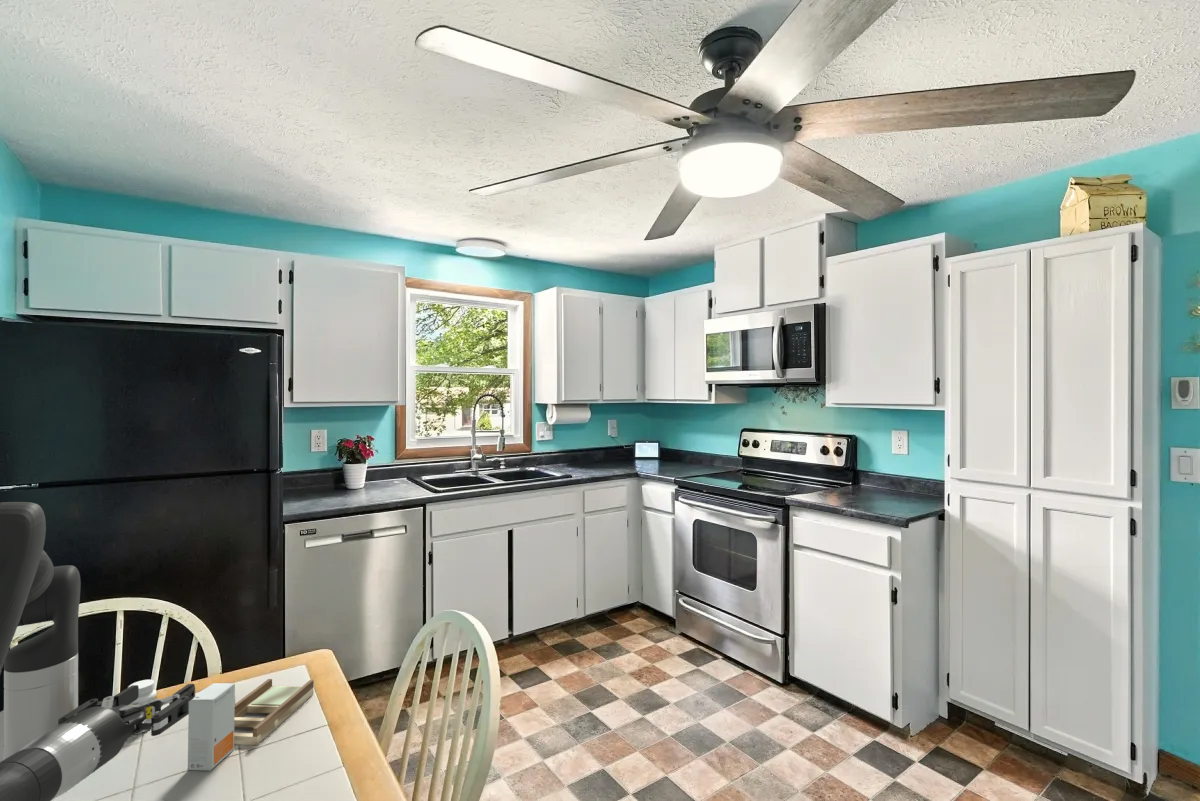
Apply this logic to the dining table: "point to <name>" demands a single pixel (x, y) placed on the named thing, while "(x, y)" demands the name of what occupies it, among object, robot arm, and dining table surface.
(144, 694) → the supplement bottle
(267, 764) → the dining table surface
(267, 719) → the board
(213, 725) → the skincare box
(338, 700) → the dining table surface
